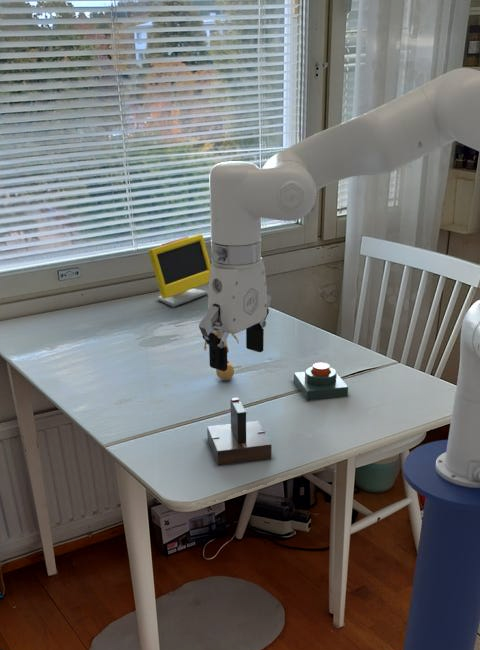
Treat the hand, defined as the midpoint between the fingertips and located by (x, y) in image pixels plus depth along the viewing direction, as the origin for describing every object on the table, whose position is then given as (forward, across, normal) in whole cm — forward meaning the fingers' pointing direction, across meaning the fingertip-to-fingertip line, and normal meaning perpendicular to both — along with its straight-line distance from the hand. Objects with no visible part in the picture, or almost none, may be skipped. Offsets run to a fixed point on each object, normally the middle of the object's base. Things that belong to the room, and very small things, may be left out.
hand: (237, 359), depth 128 cm
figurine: (+21, +31, +28) cm, 46 cm away
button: (+18, +38, +7) cm, 43 cm away
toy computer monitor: (+21, +67, +71) cm, 100 cm away
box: (+21, +38, +7) cm, 44 cm away
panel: (+21, +6, +5) cm, 23 cm away
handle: (+18, +6, +5) cm, 20 cm away
